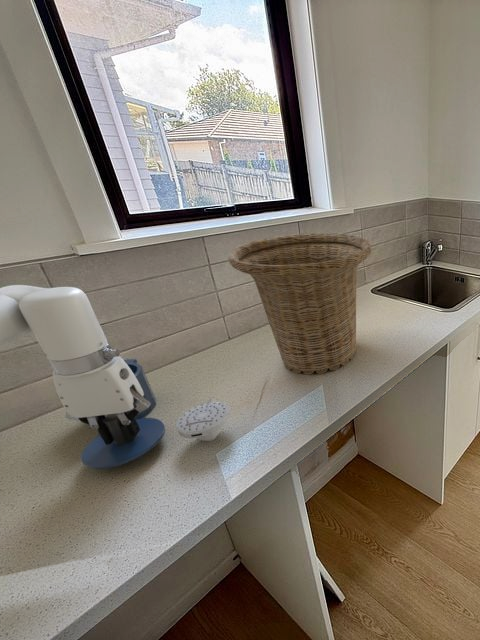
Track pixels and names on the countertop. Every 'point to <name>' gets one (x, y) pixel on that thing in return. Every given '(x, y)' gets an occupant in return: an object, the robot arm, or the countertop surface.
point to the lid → (122, 443)
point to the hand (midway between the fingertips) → (123, 437)
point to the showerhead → (204, 421)
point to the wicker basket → (307, 294)
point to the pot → (142, 386)
